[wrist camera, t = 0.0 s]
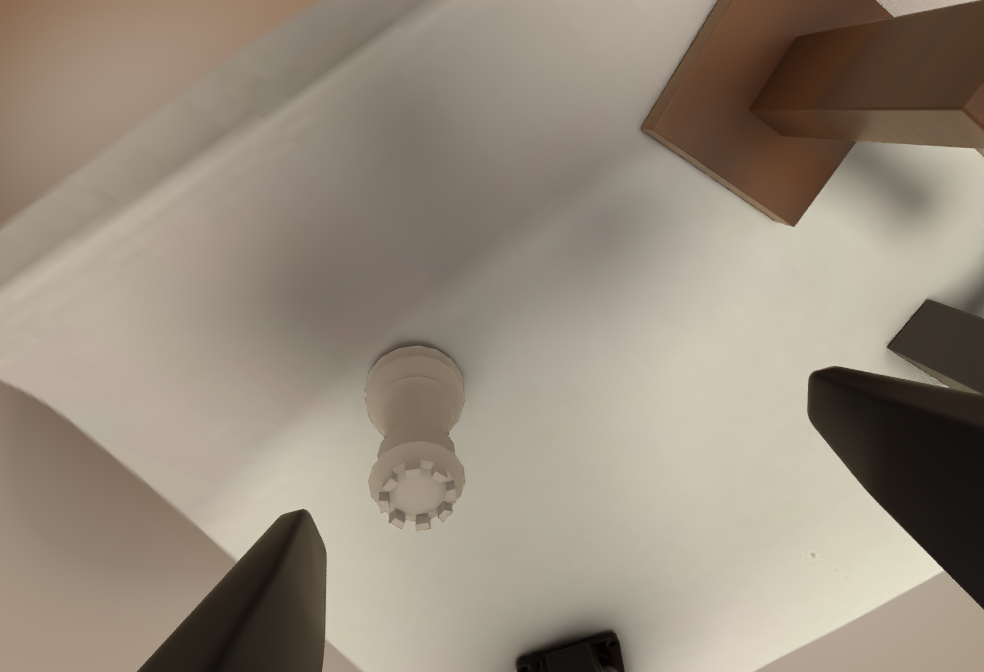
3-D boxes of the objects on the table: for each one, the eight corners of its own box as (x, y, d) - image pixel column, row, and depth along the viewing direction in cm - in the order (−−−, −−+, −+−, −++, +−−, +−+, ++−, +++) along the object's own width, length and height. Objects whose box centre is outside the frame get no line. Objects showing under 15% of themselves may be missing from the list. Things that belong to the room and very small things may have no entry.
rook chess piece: (482, 387, 25) (513, 500, 18) (411, 443, 26) (412, 574, 18) (419, 321, 23) (424, 416, 16) (344, 383, 24) (316, 501, 17)
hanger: (991, 133, 24) (1351, 145, 15) (869, 285, 26) (1117, 378, 17) (763, -76, 19) (1078, -242, 10) (640, 128, 22) (809, 140, 12)
